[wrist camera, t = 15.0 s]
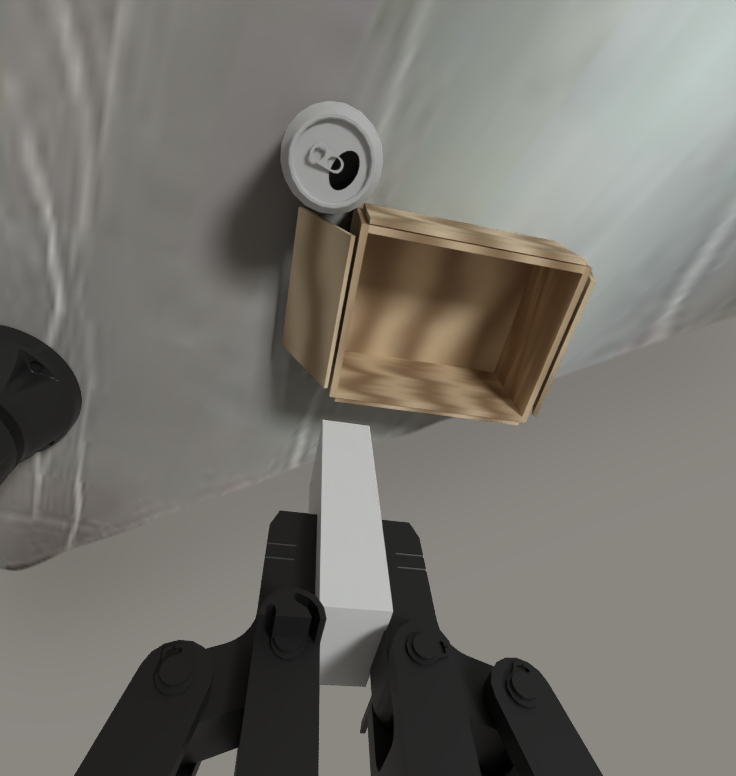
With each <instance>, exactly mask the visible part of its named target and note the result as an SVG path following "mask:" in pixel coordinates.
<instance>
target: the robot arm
mask: <svg viewBox="0 0 736 776" xmlns="http://www.w3.org/2000/svg"><path fill="white" fill-rule="evenodd" d="M81 404H82V398H81V391H80V387H79V384H78V382H77V379H76V377H75V375H74V373H73V372H72V370H71V369H70V367H69V366H68V365H67V363H66V362H65V361H64V360H63V359H62V358H61V357H60V356H59V355H58V354H57V353H56V352H55V351H54V350H53V349H51V348H50V347H49V346H48V345H46V344H45V343H43V342H42V341H40V340H38V339H37V338H35V337H33V336H31V335H29V334H27V333H25V332H22V331H20V330H17V329H14V328H10V327H7V326H2V325H0V485H1V484H2V482H3V481H4V480H5V479H6V478H7V476H8V475H9V474H10V473H11V472H12V470H13V469H14V468H15V467H16V466H17V465H18V463H20V462H22V461H24V460H26V459H28V458H29V457H31V456H33V455H34V454H35V453H36V452H39V451H42V450H45V449H47V448H49V447H51V446H52V445H54V444H55V443H57V442H58V441H59V440H60V439H62V438H63V437H64V436H65V435H66V433H67V432H68V431H69V430H70V428H71V427H72V426H73V425H74V423H75V422H76V420H77V418H78V416H79V414H80V410H81ZM425 569H426V567H425V563H424V558H423V553H422V549H421V544H420V539H419V537H418V535H417V534H416V532H415V531H414V529H413V528H412V526H411V525H410V523H407V522H397V521H387V520H381V512H380V504H379V497H378V489H377V481H376V473H375V466H374V458H373V450H372V442H371V434H370V426H366V425H359V424H351V423H344V422H336V421H329V420H323V422H322V427H321V432H320V437H319V442H318V447H317V452H316V457H315V462H314V467H313V472H312V477H311V482H310V494H309V514H308V513H298V512H288V511H279V513H278V514H277V516H276V517H275V518H274V520H273V521H272V522H271V524H270V527H269V534H268V540H267V547H266V554H265V560H264V567H263V574H262V581H261V588H260V595H259V602H258V609H257V615H256V619H255V620H254V622H253V624H252V625H251V627H250V628H249V629H248V630H247V631H246V632H245V633H244V634H243V635H242V636H240V637H238V638H237V639H235V640H233V641H231V642H228V643H225V644H222V645H218V646H214V647H211V648H207V649H205V648H204V647H202V646H201V645H199V644H197V643H195V642H193V641H184V640H177V641H173V642H169V643H165V644H163V645H162V646H160V647H159V648H157V649H155V650H154V651H152V652H151V653H150V654H149V655H148V656H147V658H146V659H145V660H144V661H143V662H142V664H141V665H140V667H139V668H138V670H137V672H136V673H135V675H134V677H133V678H132V680H131V682H130V683H129V685H128V687H127V688H126V690H125V692H124V693H123V695H122V697H121V699H120V700H119V702H118V703H117V705H116V707H115V708H114V710H113V712H112V713H111V715H110V717H109V718H108V720H107V722H106V723H105V725H104V727H103V729H102V730H101V732H100V733H99V735H98V737H97V738H96V740H95V742H94V743H93V745H92V747H91V748H90V750H89V752H88V754H87V755H86V757H85V758H84V760H83V762H82V763H81V765H80V767H79V768H78V770H77V772H76V773H75V775H74V776H196V773H197V771H198V768H199V766H200V763H201V761H202V760H205V759H208V758H210V757H213V756H216V755H219V754H221V753H224V752H227V751H230V750H232V749H235V748H238V750H237V758H236V765H235V772H234V776H318V756H319V755H318V753H319V752H318V750H319V685H339V686H363V687H365V686H366V684H367V681H368V679H369V675H370V678H371V691H372V696H371V699H370V701H369V704H368V707H367V709H366V712H365V714H364V717H363V719H362V722H361V723H362V724H361V730H360V733H365V732H366V730H367V727H368V737H369V752H370V753H369V754H370V770H371V776H603V775H602V773H601V772H600V770H599V768H598V767H597V765H596V763H595V761H594V760H593V758H592V756H591V755H590V753H589V751H588V749H587V748H586V746H585V744H584V743H583V741H582V739H581V738H580V736H579V734H578V733H577V731H576V729H575V728H574V726H573V724H572V722H571V721H570V719H569V717H568V716H567V714H566V712H565V711H564V709H563V707H562V705H561V704H560V702H559V700H558V699H557V697H556V695H555V694H554V692H553V691H552V688H551V687H550V685H549V684H548V682H547V681H546V679H545V678H544V677H543V675H542V674H541V673H540V672H539V671H538V670H537V669H536V668H534V667H533V666H532V665H531V664H529V663H528V662H525V661H523V660H520V659H518V658H504V659H502V660H500V661H498V662H496V664H495V666H491V665H489V664H486V663H484V662H481V661H479V660H476V659H474V658H471V657H469V656H466V655H465V654H462V653H461V652H459V651H458V650H457V649H455V648H454V647H453V646H452V645H451V644H450V642H449V640H448V639H447V638H446V637H445V636H444V634H443V633H442V632H441V631H440V629H439V626H438V623H437V620H436V616H435V610H434V605H433V602H432V596H431V592H430V586H429V582H428V577H427V572H426V571H425Z"/></svg>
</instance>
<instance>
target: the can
mask: <svg viewBox="0 0 736 776" xmlns="http://www.w3.org/2000/svg"><path fill="white" fill-rule="evenodd" d="M280 162H281V167H282V171H283V175H284V179H285V181H286V183H287V184H288V186H289V188H290V189H291V191H292V193H293V194H294V195H295V196H296V197H297V198H298V199H299V200H300V201H301V202H302V203H303V204H304V205H305V206H307V207H309V208H311V209H314V210H316V211H318V212H320V213H328V214H340V213H345V212H350V211H352V210H353V209H355V208H357V207H359V206H360V205H362V204H364V202H365V201H366V200H367V199H368V198H369V197H370V196H371V195H372V194H373V192H374V191H375V189H376V186H377V184H378V182H379V180H380V178H381V173H382V166H383V152H382V145H381V141H380V139H379V136H378V134H377V132H376V130H375V128H374V125H373V124H372V123H371V122H370V121H369V120H368V119H367V118H366V117H365V115H364V114H363V113H362V112H360V111H359V110H357V109H355V108H353V107H351V106H350V105H348V104H346V103H340V102H334V101H326V102H321V103H316V104H312V105H311V106H309V107H307V108H306V109H304V110H303V111H301V112H299V113H298V114H297V115H296V117H295V118H294V119H293V121H292V122H291V123H290V124H289V126H288V127H287V129H286V132H285V135H284V138H283V140H282V143H281V159H280Z"/></svg>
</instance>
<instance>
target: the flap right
mask: <svg viewBox="0 0 736 776" xmlns="http://www.w3.org/2000/svg"><path fill="white" fill-rule="evenodd" d="M586 265H588V263H587V264H586ZM588 266H589V265H588ZM595 283H596V281H595V279H594V276H593V274H592V272H590V274H589V277H588V279H587V281H586V284H585V286H584V288H583V291H582V293H581V295H580V298H579V300H578V302H577V305H576V307H575V309H574V312H573V314H572V316H571V319H570V321H569V323H568V325H567V328H566V330H565V332H564V335H563V337H562V339H561V342H560V344H559V346H558V349H557V351H556V353H555V356H554V358H553V360H552V363H551V365H550V367H549V370H548V372H547V374H546V376H545V379H544V381H543V383H542V386H541V388H540V390H539V393H538V395H537V397H536V400H535V402H534V404H533V412H532V415H533V416H537V414H538V412H539V410H540V407H541V405H542V403H543V401H544V398H545V395H546V394H547V392H548V389H549V387H550V385H551V382H552V380H553V378H554V376H555V373H556V371H557V369H558V367H559V364H560V362H561V360H562V358H563V355H564V353H565V351H566V348H567V346H568V344H569V342H570V339H571V337H572V335H573V333H574V330H575V328H576V326H577V324H578V321H579V319H580V317H581V314H582V312H583V310H584V308H585V305H586V303H587V301H588V299H589V296H590V294H591V292H592V290H593V287H594V285H595Z"/></svg>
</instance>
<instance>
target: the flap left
mask: <svg viewBox="0 0 736 776" xmlns="http://www.w3.org/2000/svg"><path fill="white" fill-rule="evenodd" d="M355 237H356V236H354V235H353V234H351V233H349V232H347V231H345V230H344V229H342V228H340V227H338V226H336V225H335V224H333V223H331V222H329V221H327V220H326V219H324V218H322V217H320V216H318V215H317V214H316V213H314V212H312V211H310V210H308V209H306V208H305V207H299V209H298V217H297V225H296V233H295V241H294V249H293V257H292V265H291V273H290V281H289V289H288V297H287V305H286V313H285V321H284V329H283V337H282V345H283V346H284V347H285V348H286V349H287V351H288V352H289V353H290V354H291V355H292V356H293V357H294V358H295V359H296V360H297V361H298V362H299V363H300V364H301V365H302V366H303V367H304V368H305V369H306V370H307V371H308V372H309V373H310V375H311V376H312V377H313V378H314V379H315V380H316V381H317V382H318V383H319V384H320V385H321V386H322V387H323V388H328V383H329V378H330V372H331V367H332V361H333V356H334V351H335V345H336V340H337V334H338V329H339V323H340V318H341V313H342V307H343V302H344V296H345V291H346V285H347V280H348V275H349V269H350V264H351V258H352V253H353V247H354V242H355Z"/></svg>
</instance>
